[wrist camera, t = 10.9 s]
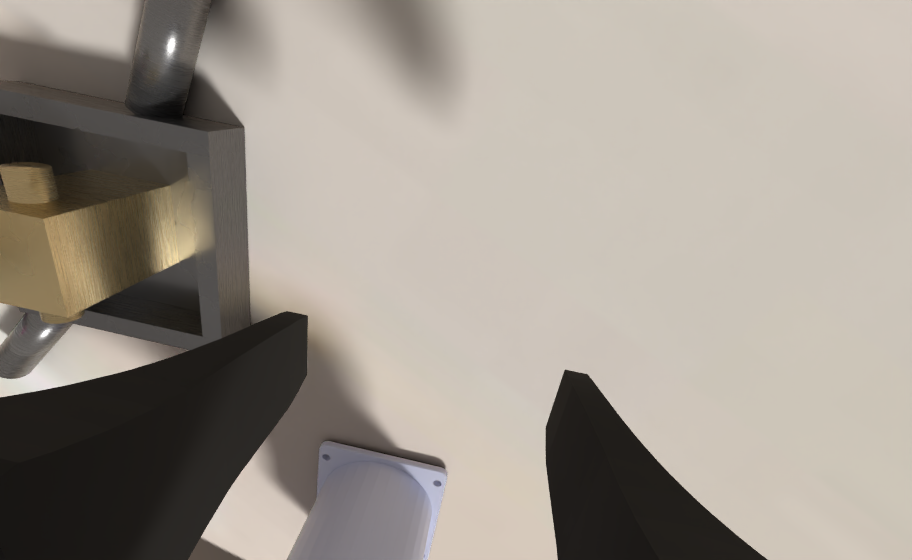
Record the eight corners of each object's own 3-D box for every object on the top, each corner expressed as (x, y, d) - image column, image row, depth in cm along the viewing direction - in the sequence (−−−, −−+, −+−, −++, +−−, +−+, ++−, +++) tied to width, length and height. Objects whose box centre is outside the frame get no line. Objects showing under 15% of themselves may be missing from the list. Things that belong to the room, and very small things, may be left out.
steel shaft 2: (191, 124, 19) (157, 127, 18) (150, 100, 19) (112, 100, 17) (234, -41, 17) (200, -57, 15) (187, -71, 16) (146, -91, 15)
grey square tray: (250, 332, 24) (222, 357, 21) (66, 290, 24) (19, 311, 22) (244, 127, 19) (207, 131, 17) (16, 81, 20) (-48, 79, 17)
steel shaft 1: (65, 281, 24) (28, 296, 22) (95, 306, 24) (61, 324, 23) (15, 343, 26) (-22, 361, 24) (43, 365, 27) (9, 385, 25)
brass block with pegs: (181, 282, 22) (74, 343, 17) (110, 267, 23) (-19, 322, 17) (167, 160, 20) (35, 185, 14) (86, 143, 20) (-75, 162, 14)
